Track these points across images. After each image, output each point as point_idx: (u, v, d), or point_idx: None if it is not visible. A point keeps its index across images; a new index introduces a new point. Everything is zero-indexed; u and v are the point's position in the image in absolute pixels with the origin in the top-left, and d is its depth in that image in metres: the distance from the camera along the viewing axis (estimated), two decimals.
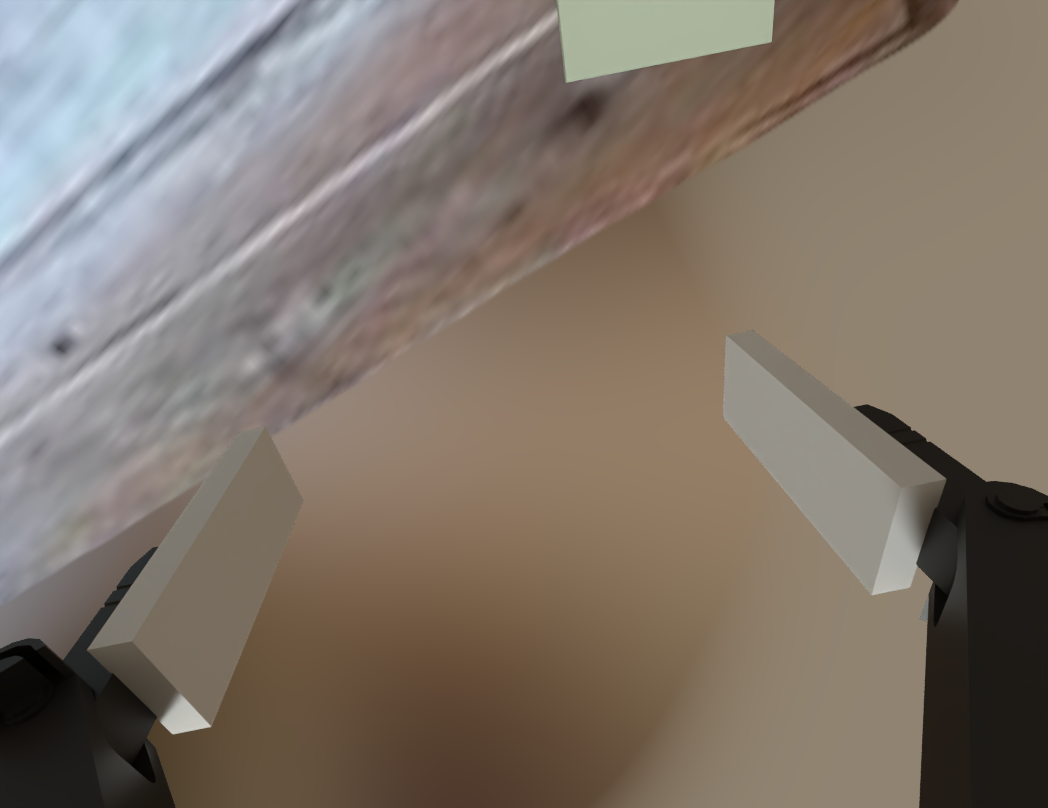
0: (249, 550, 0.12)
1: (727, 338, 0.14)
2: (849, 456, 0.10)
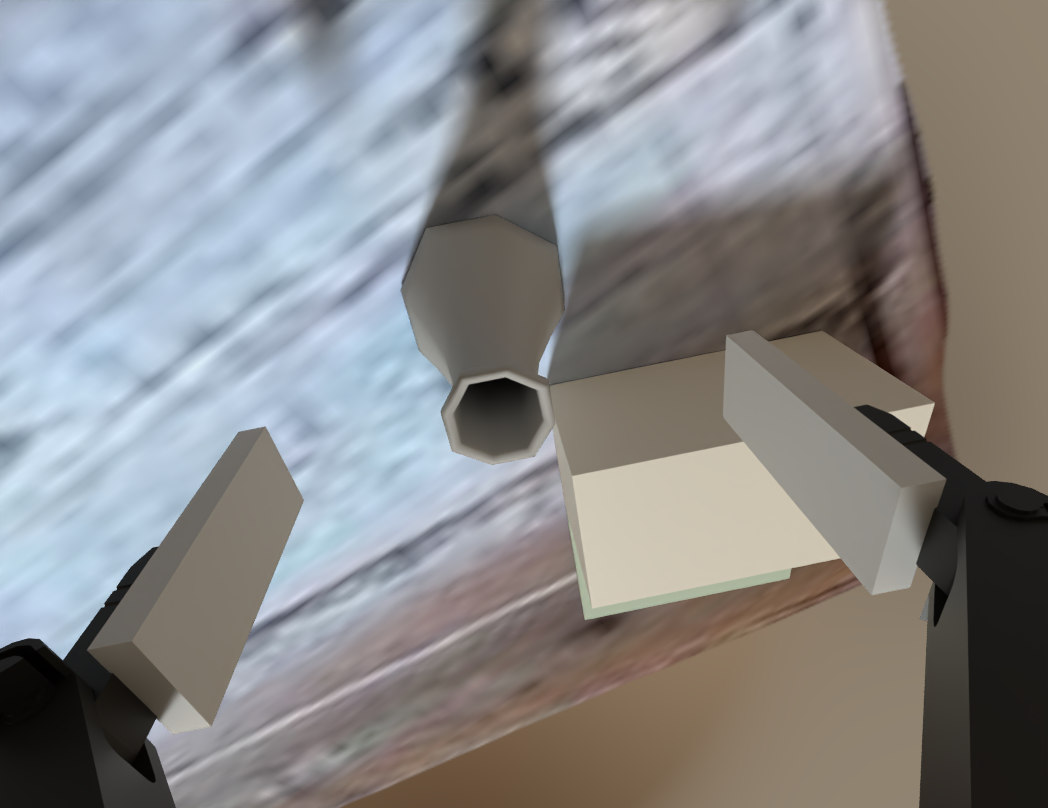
0: (249, 550, 0.12)
1: (727, 338, 0.14)
2: (849, 456, 0.10)
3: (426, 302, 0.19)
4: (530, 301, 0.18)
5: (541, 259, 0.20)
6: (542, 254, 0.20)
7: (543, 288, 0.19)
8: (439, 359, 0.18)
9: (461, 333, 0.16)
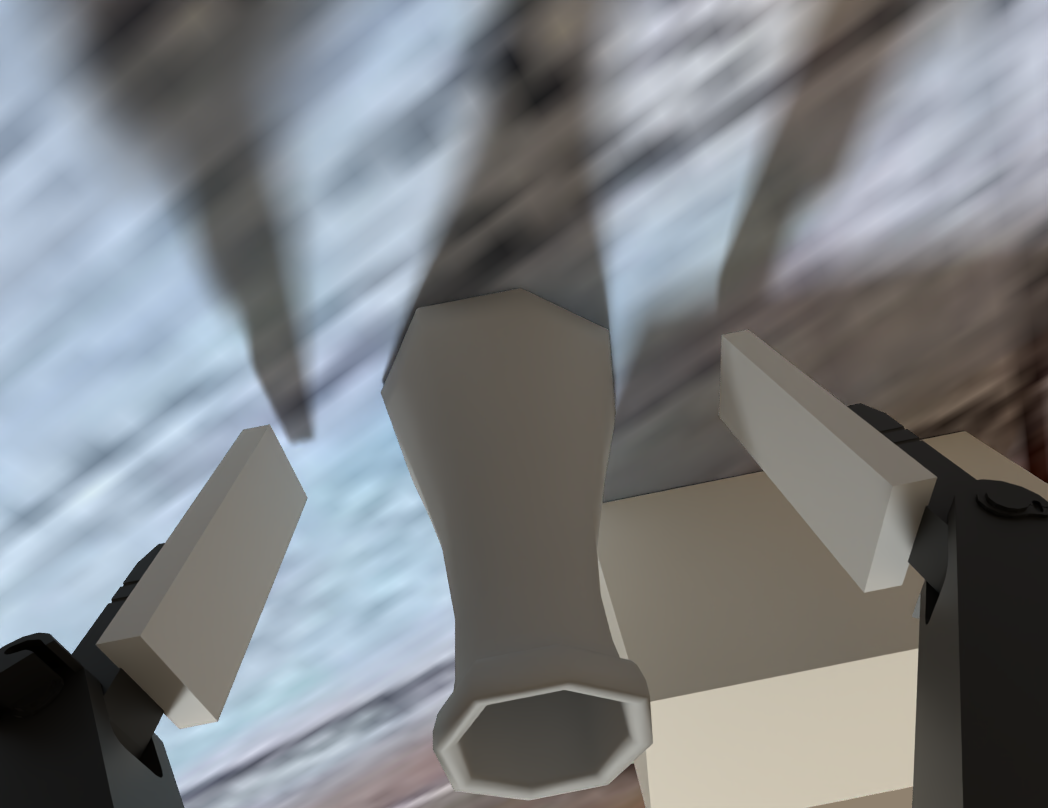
0: (254, 547, 0.12)
1: (722, 337, 0.14)
2: (841, 455, 0.10)
3: (415, 431, 0.12)
4: (581, 443, 0.11)
5: (590, 357, 0.13)
6: (591, 348, 0.14)
7: (598, 411, 0.12)
8: (435, 528, 0.12)
9: (471, 527, 0.09)
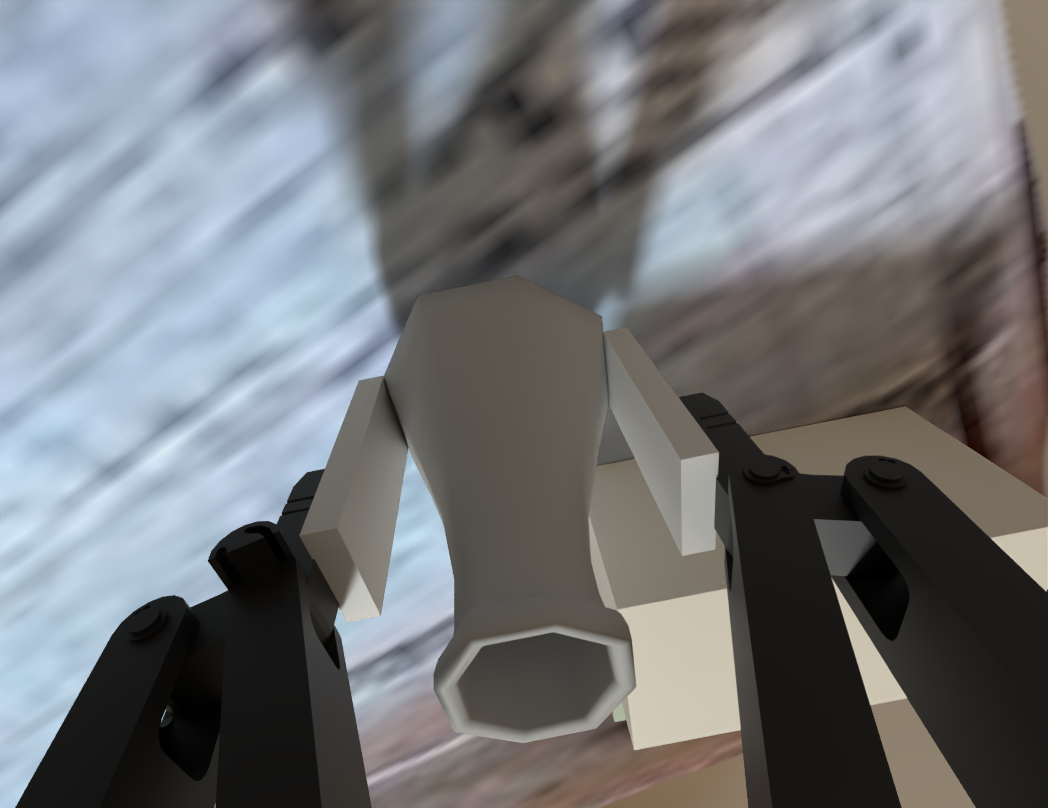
0: (385, 478, 0.14)
1: (603, 334, 0.15)
2: (660, 435, 0.11)
3: (417, 411, 0.13)
4: (574, 420, 0.12)
5: (583, 342, 0.14)
6: (584, 333, 0.14)
7: (590, 392, 0.13)
8: (435, 502, 0.12)
9: (469, 495, 0.10)
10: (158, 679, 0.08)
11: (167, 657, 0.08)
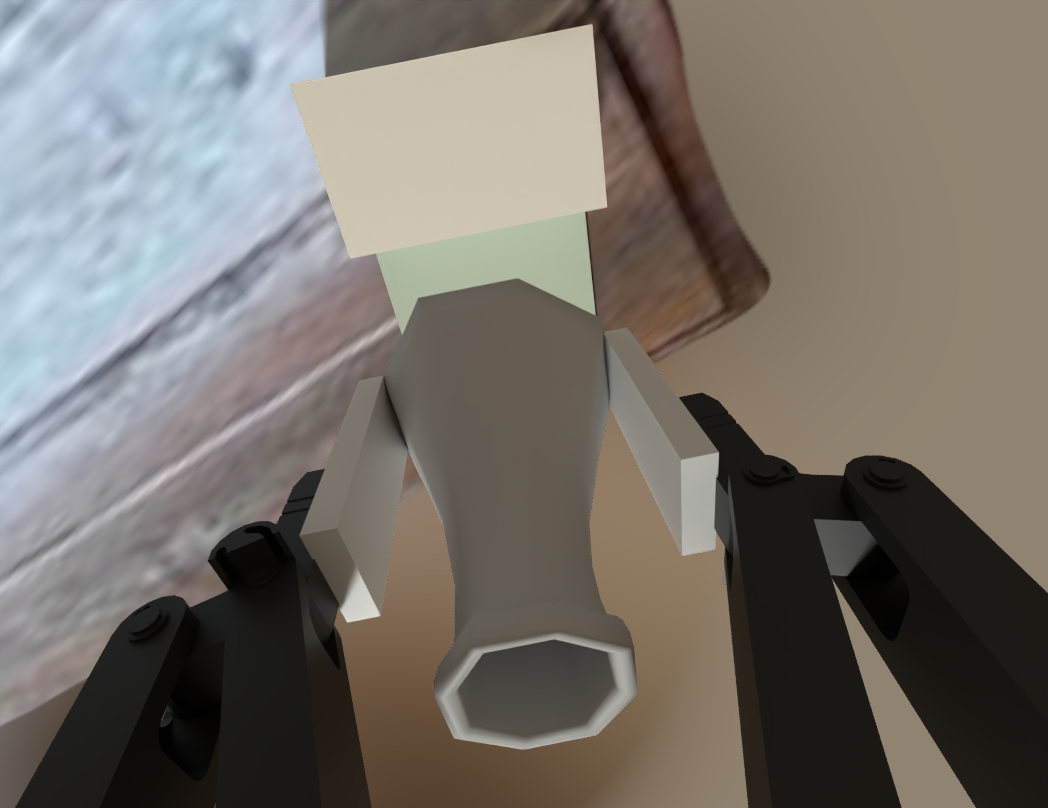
0: (385, 478, 0.14)
1: None
2: (660, 435, 0.11)
3: (417, 414, 0.13)
4: (575, 424, 0.12)
5: (584, 344, 0.14)
6: (585, 335, 0.14)
7: (591, 395, 0.13)
8: (436, 505, 0.12)
9: (470, 500, 0.10)
10: (158, 679, 0.08)
11: (167, 657, 0.08)
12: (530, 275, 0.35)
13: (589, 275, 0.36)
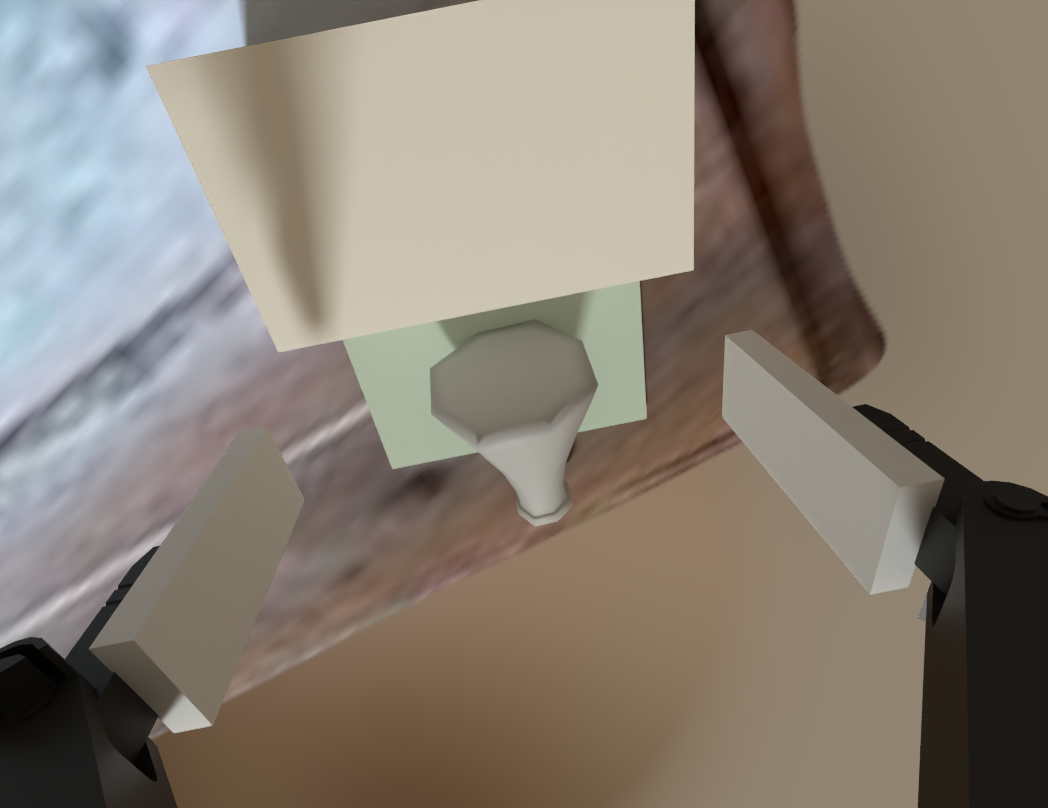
0: (250, 549, 0.12)
1: (726, 338, 0.14)
2: (847, 456, 0.10)
3: (480, 452, 0.23)
4: (566, 452, 0.24)
5: (581, 415, 0.21)
6: (583, 410, 0.21)
7: (576, 433, 0.23)
8: None
9: (524, 492, 0.25)
10: None
11: None
12: None
13: (640, 346, 0.25)
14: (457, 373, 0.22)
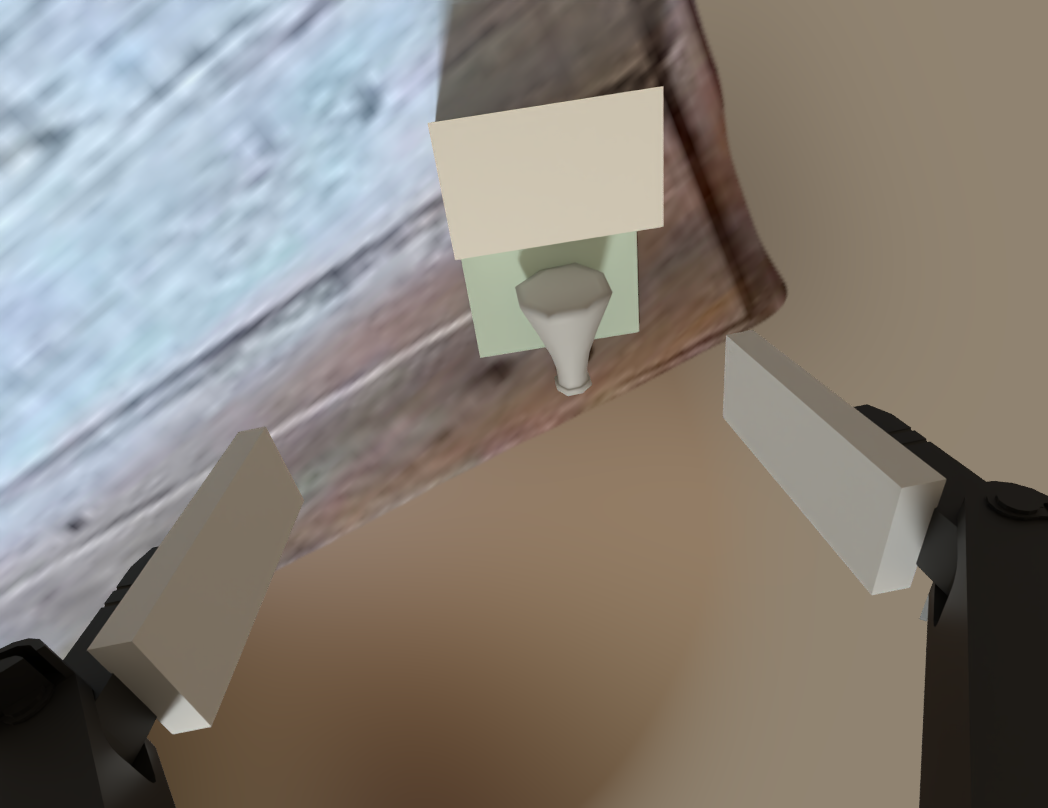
0: (249, 550, 0.12)
1: (727, 338, 0.14)
2: (849, 456, 0.10)
3: (542, 335, 0.39)
4: (591, 340, 0.41)
5: (602, 312, 0.38)
6: (603, 308, 0.38)
7: None
8: None
9: (564, 368, 0.42)
10: None
11: None
12: None
13: (636, 283, 0.42)
14: (532, 287, 0.39)
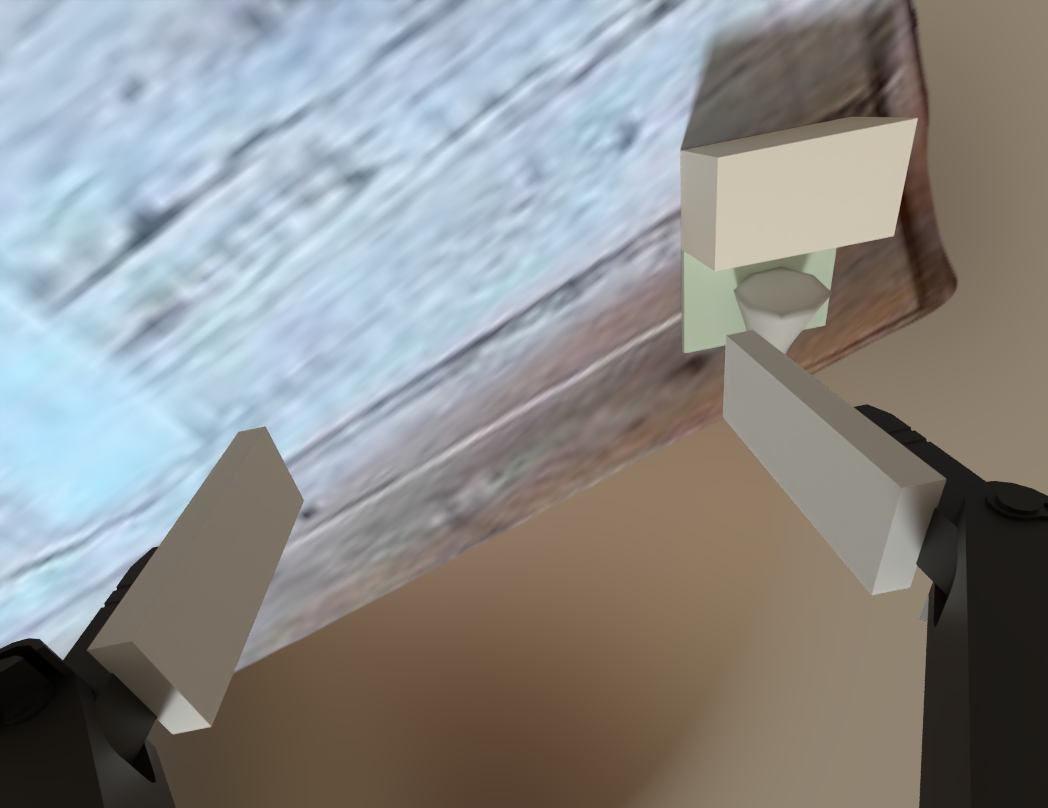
0: (249, 550, 0.12)
1: (727, 338, 0.14)
2: (849, 456, 0.10)
3: (760, 332, 0.45)
4: (797, 335, 0.46)
5: None
6: (820, 307, 0.43)
7: None
8: None
9: None
10: None
11: None
12: None
13: (829, 282, 0.47)
14: (753, 291, 0.44)
